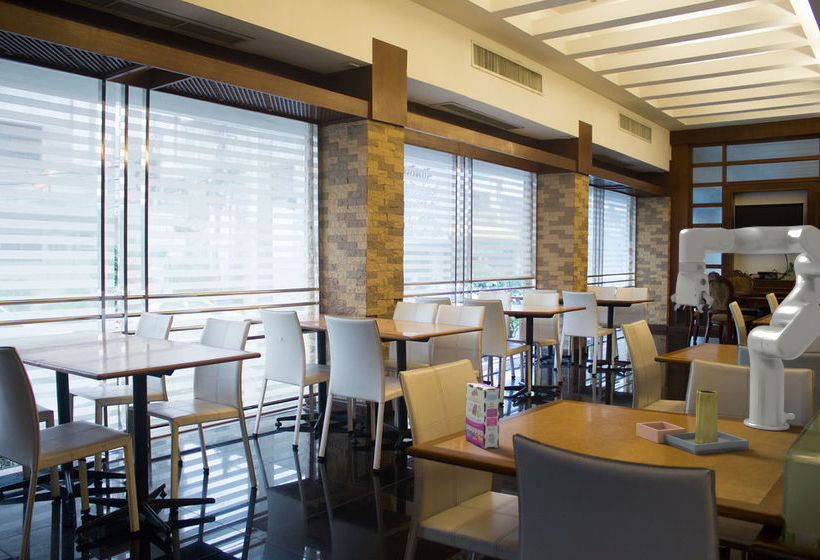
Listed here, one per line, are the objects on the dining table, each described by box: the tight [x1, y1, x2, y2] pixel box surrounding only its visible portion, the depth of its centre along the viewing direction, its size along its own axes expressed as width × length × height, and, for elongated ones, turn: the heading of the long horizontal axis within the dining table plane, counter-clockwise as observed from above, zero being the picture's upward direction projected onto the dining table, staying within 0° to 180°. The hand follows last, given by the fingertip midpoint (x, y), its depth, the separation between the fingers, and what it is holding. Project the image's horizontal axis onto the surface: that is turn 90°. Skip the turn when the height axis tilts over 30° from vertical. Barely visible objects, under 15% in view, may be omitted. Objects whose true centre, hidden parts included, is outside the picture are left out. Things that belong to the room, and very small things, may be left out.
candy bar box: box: [465, 382, 501, 450], centre depth 186 cm, size 11×5×16 cm, turn 23°
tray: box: [663, 430, 750, 456], centre depth 185 cm, size 18×12×2 cm, turn 108°
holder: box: [635, 421, 687, 444], centre depth 194 cm, size 10×10×4 cm
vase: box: [694, 389, 719, 444], centre depth 185 cm, size 6×6×14 cm
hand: (691, 324), depth 205 cm, fingers open, 9 cm apart
